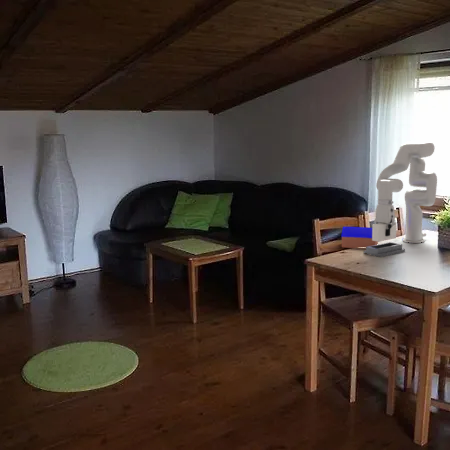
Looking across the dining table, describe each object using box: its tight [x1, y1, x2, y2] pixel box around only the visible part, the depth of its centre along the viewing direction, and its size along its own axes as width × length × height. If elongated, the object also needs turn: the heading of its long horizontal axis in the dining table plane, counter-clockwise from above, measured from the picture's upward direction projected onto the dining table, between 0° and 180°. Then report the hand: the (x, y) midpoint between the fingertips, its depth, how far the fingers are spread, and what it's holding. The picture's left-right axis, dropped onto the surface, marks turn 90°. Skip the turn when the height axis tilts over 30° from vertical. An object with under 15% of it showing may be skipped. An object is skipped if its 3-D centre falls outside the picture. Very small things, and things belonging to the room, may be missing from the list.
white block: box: [371, 221, 397, 242], centre depth 302 cm, size 15×4×9 cm, turn 124°
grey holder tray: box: [363, 241, 406, 258], centre depth 304 cm, size 20×12×4 cm, turn 124°
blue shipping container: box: [340, 226, 379, 249], centre depth 322 cm, size 12×20×12 cm, turn 68°
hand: (384, 234), depth 303 cm, fingers closed on white block, 4 cm apart
